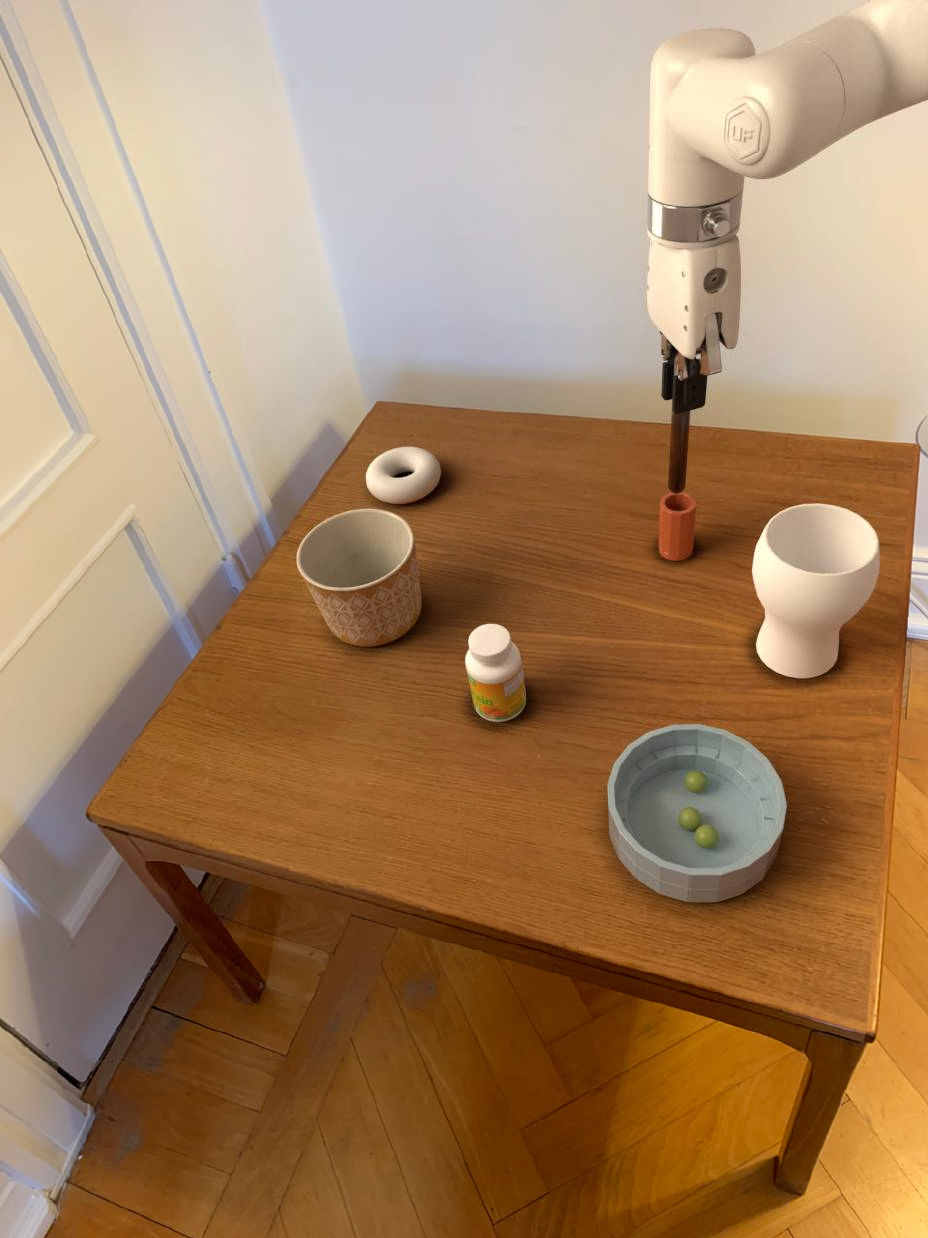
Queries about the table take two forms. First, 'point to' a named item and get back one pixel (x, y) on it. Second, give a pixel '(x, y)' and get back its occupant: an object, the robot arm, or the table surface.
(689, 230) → the robot arm
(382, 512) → the planter
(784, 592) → the cup
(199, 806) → the table surface
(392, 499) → the donut
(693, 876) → the bowl
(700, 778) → the pea
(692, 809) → the pea
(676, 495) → the holder
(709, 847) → the pea
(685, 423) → the stick
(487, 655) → the supplement bottle
